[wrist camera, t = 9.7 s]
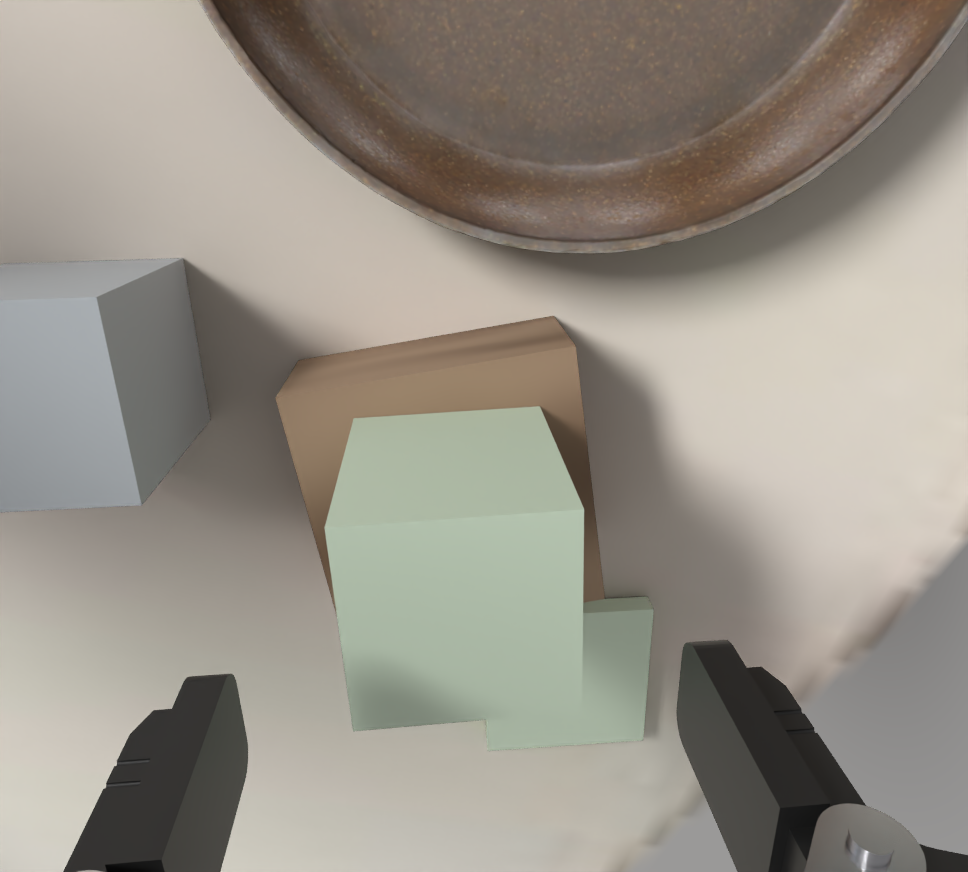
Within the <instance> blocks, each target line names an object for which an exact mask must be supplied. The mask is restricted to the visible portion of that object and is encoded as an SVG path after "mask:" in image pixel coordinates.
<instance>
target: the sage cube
mask: <svg viewBox="0 0 968 872" xmlns="http://www.w3.org/2000/svg"><path fill="white" fill-rule="evenodd" d="M325 535H326V542H327V549H328V556H329V564H330V571H331V578H332V585H333V592H334V599H335V606H336V613H337V620H338V627H339V635H340V642H341V649H342V656H343V663H344V670H345V677H346V684H347V691H348V698H349V705H350V713H351V720H352V727H353V731H363V730H374V729H386V728H398V727H409V726H421V725H432V724H444V723H455V722H467V721H479V720H490V719H502V718H513V717H525V716H536V715H548V714H560V713H571V712H582V669H583V572H584V508H583V505H582V503H581V501H580V498H579V496H578V494H577V491H576V489H575V487H574V484H573V482H572V480H571V478H570V475H569V473H568V471H567V468H566V466H565V464H564V461H563V459H562V457H561V454H560V452H559V450H558V447H557V445H556V443H555V440H554V438H553V436H552V433H551V431H550V429H549V426H548V424H547V422H546V419H545V417H544V415H543V412H542V410H541V408H540V406H536V407H520V408H505V409H489V410H474V411H458V412H443V413H427V414H412V415H396V416H381V417H365V418H354V419H353V423H352V427H351V430H350V434H349V438H348V442H347V445H346V449H345V453H344V457H343V460H342V464H341V468H340V472H339V475H338V479H337V483H336V487H335V490H334V494H333V498H332V502H331V505H330V509H329V513H328V517H327V520H326V524H325Z"/></svg>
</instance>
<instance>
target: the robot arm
mask: <svg viewBox="0 0 968 872" xmlns="http://www.w3.org/2000/svg"><path fill="white" fill-rule="evenodd" d="M677 723H678V729H679V734H680V738H681V741H682V744H683V747H684V749H685V752H686V754H687V756H688V758H689V761H690V763H691V765H692V768H693V770H694V772H695V775H696V777H697V779H698V781H699V784H700V786H701V788H702V791H703V793H704V795H705V798H706V800H707V802H708V805H709V807H710V809H711V811H712V814H713V816H714V818H715V821H716V823H717V825H718V828H719V830H720V832H721V834H722V837H723V839H724V841H725V843H726V846H727V848H728V851H729V853H730V855H731V857H732V859H733V862H734V864H735V867H736V869H737V871H738V872H968V855H963V854H958V853H953V852H948V851H943V850H938V849H934V848H930V847H926V846H923V845H921V844H919V843H918V842H917V841H916V839H915V838H914V837H913V835H912V834H911V833H910V832H909V831H908V830H907V829H906V828H905V827H904V826H902V825H901V824H900V823H899V822H897V821H896V820H895V819H893V818H892V817H890V816H888V815H886V814H885V813H883V812H881V811H878V810H876V809H874V808H871V807H868V806H866V805H865V803H864V802H863V800H862V799H861V798H860V796H859V794H858V793H857V792H856V790H855V789H854V787H853V786H852V784H851V783H850V781H849V780H848V778H847V777H846V775H845V774H844V772H843V771H842V769H841V768H840V766H839V765H838V763H837V762H836V760H835V759H834V757H833V756H832V754H831V753H830V751H829V750H828V748H827V747H826V745H825V744H824V742H823V741H822V739H821V738H820V736H819V735H818V734H817V733H815V732H814V727H813V726H812V724H811V723H810V721H809V720H808V718H807V717H806V715H805V714H802V712H801V708H800V706H799V705H798V703H797V702H796V700H795V699H794V697H793V696H792V694H791V693H790V691H789V690H788V688H787V687H786V686H785V685H784V684H783V683H781V682H780V681H779V680H778V679H776V678H775V677H774V676H772V675H771V674H770V673H769V672H767V671H766V670H765V669H763V668H762V667H752V668H746V666H745V664H744V663H743V661H742V660H741V658H740V656H739V655H738V653H737V651H736V650H735V648H734V647H733V645H732V644H731V643H730V642H729V641H728V640H717V641H703V642H689V643H686V644H685V645H684V647H683V652H682V661H681V671H680V681H679V691H678V701H677ZM247 764H248V743H247V737H246V731H245V726H244V721H243V715H242V710H241V705H240V699H239V694H238V689H237V683H236V680H235V677H234V675H233V674H220V675H206V676H192V677H187V678H186V679H185V681H184V683H183V685H182V687H181V689H180V691H179V694H178V696H177V698H176V701H175V703H174V705H173V708H172V709H165V710H154V711H153V712H152V713H151V714H150V715H149V716H148V717H147V718H146V719H145V720H144V721H143V722H142V723H141V724H140V725H139V726H138V727H137V728H136V729H135V730H134V731H133V732H132V733H131V734H130V735H129V737H128V739H127V741H126V744H125V746H124V748H123V750H122V752H121V754H120V756H119V758H118V760H117V766H114V768H113V770H112V772H111V775H110V777H109V779H108V781H107V783H106V789H103V791H102V793H101V795H100V797H99V799H98V801H97V803H96V805H95V808H94V810H93V812H92V814H91V816H90V818H89V820H88V822H87V824H86V826H85V828H84V830H83V832H82V834H81V836H80V838H79V841H78V843H77V845H76V847H75V849H74V851H73V853H72V855H71V857H70V859H69V861H68V863H67V865H66V867H65V869H64V871H63V872H220V871H221V867H222V863H223V860H224V856H225V852H226V849H227V845H228V841H229V838H230V834H231V830H232V826H233V823H234V819H235V815H236V812H237V808H238V804H239V801H240V797H241V793H242V790H243V786H244V782H245V778H246V773H247Z"/></svg>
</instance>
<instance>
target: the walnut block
mask: <svg viewBox="0 0 968 872" xmlns="http://www.w3.org/2000/svg"><path fill="white" fill-rule="evenodd" d="M275 399H276V402H277V406H278V410H279V413H280V417H281V420H282V424H283V427H284V431H285V434H286V438H287V441H288V445H289V448H290V452H291V456H292V459H293V463H294V466H295V470H296V473H297V477H298V480H299V484H300V487H301V491H302V494H303V498H304V502H305V505H306V509H307V512H308V516H309V519H310V523H311V526H312V530H313V533H314V537H315V540H316V544H317V547H318V551H319V555H320V558H321V562H322V565H323V569H324V572H325V576H326V579H327V583H328V586H329V590H330V593H331V597H332V601H333V604H334V608H335V611H336V606H335V599H334V592H333V585H332V578H331V571H330V564H329V556H328V549H327V542H326V535H325V524H326V520H327V517H328V513H329V509H330V505H331V502H332V498H333V494H334V490H335V487H336V483H337V479H338V475H339V472H340V468H341V464H342V460H343V457H344V453H345V449H346V445H347V442H348V438H349V434H350V430H351V427H352V423H353V419H354V418H365V417H381V416H396V415H412V414H427V413H443V412H458V411H474V410H489V409H505V408H520V407H536V406H540V408H541V410H542V412H543V415H544V417H545V419H546V422H547V424H548V426H549V429H550V431H551V433H552V436H553V438H554V440H555V443H556V445H557V447H558V450H559V452H560V454H561V457H562V459H563V461H564V464H565V466H566V468H567V471H568V473H569V475H570V478H571V480H572V482H573V484H574V487H575V489H576V491H577V494H578V496H579V498H580V501H581V503H582V505H583V508H584V572H583V603H585V602H590V601H596V600H602V599H605V596H604V587H603V578H602V570H601V561H600V552H599V544H598V535H597V526H596V518H595V509H594V500H593V492H592V483H591V474H590V465H589V457H588V448H587V439H586V431H585V422H584V413H583V405H582V396H581V387H580V379H579V370H578V361H577V353H576V346H575V344H574V343H573V342H572V340H571V339H570V337H569V336H568V335H567V333H566V332H565V331H564V329H563V328H562V327H561V325H560V324H559V323H558V321H557V320H556V319H555V317H554V316H550V317H545V318H539V319H533V320H527V321H522V322H516V323H510V324H504V325H499V326H493V327H487V328H481V329H476V330H470V331H464V332H458V333H452V334H447V335H441V336H435V337H429V338H424V339H418V340H412V341H406V342H401V343H395V344H389V345H383V346H378V347H372V348H366V349H360V350H355V351H349V352H343V353H337V354H332V355H326V356H320V357H314V358H309V359H303V360H298V362H297V364H296V365H295V367H294V368H293V370H292V372H291V373H290V375H289V377H288V378H287V380H286V382H285V383H284V385H283V386H282V388H281V390H280V391H279V393H278V395H277V396H276V398H275ZM336 615H337V613H336Z"/></svg>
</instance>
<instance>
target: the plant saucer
mask: <svg viewBox="0 0 968 872" xmlns="http://www.w3.org/2000/svg"><path fill="white" fill-rule="evenodd" d="M198 1H199V3H200V5H201V6H202V8H203V10H204V11H205V13H206V15H207V16H208V18H209V20H210V21H211V23H212V25H213V26H214V28H215V30H216V31H217V33H218V34H219V36H220V37H221V39H222V40H223V41H224V43H225V44H226V46H227V47H228V48H229V50H230V51H231V53H232V54H233V56H234V57H235V58H236V60H237V61H238V63H239V64H240V65H241V66H242V68H243V69H244V70H245V72H246V73H247V74H248V75H249V77H250V78H251V79H252V81H253V82H254V83H255V84H256V86H257V87H258V88H259V89H260V90H261V92H262V93H263V94H264V95H265V96H266V97H267V98H268V100H269V101H270V102H271V103H272V104H273V105H274V106H275V107H276V109H277V110H278V111H279V112H280V113H281V114H282V115H283V116H284V117H285V118H286V119H287V120H288V121H289V122H290V123H291V124H292V125H293V126H294V127H295V128H296V129H297V130H298V131H299V132H300V133H301V134H302V135H303V136H304V137H305V138H306V139H307V140H308V141H309V142H310V143H312V144H313V145H314V146H315V147H316V148H317V149H318V150H320V151H321V152H322V153H323V154H324V155H325V156H327V157H328V158H329V159H330V160H332V161H333V162H334V163H336V164H337V165H338V166H340V167H341V168H342V169H344V170H345V171H346V172H348V173H349V174H350V175H352V176H353V177H354V178H356V179H357V180H359V181H360V182H361V183H363V184H364V185H366V186H367V187H369V188H370V189H372V190H373V191H374V192H376V193H378V194H380V195H381V196H383V197H385V198H387V199H388V200H390V201H392V202H394V203H395V204H397V205H399V206H401V207H403V208H405V209H407V210H409V211H411V212H413V213H415V214H416V215H418V216H421V217H423V218H425V219H427V220H429V221H431V222H434V223H436V224H438V225H440V226H442V227H445V228H448V229H451V230H454V231H457V232H460V233H463V234H466V235H469V236H472V237H476V238H479V239H482V240H485V241H489V242H493V243H497V244H501V245H506V246H510V247H516V248H522V249H529V250H536V251H545V252H554V253H596V254H597V253H611V252H622V251H630V250H638V249H644V248H651V247H656V246H660V245H663V244H668V243H672V242H676V241H681V240H685V239H688V238H692V237H695V236H699V235H702V234H705V233H708V232H711V231H714V230H717V229H720V228H722V227H725V226H727V225H729V224H732V223H734V222H736V221H738V220H741V219H743V218H745V217H747V216H750V215H752V214H754V213H756V212H758V211H760V210H762V209H764V208H766V207H768V206H770V205H772V204H774V203H776V202H777V201H779V200H781V199H783V198H784V197H786V196H788V195H790V194H791V193H793V192H795V191H796V190H798V189H799V188H801V187H802V186H803V185H805V184H806V183H808V182H809V181H811V180H813V179H814V178H816V177H818V176H819V175H821V174H822V173H823V172H825V171H826V170H827V169H828V168H830V167H831V166H832V165H834V164H835V163H836V162H838V161H839V160H840V159H841V158H843V157H844V156H845V155H847V154H848V153H849V152H850V151H852V150H853V149H854V148H856V147H857V146H858V145H859V144H860V143H861V142H862V141H863V140H864V139H866V138H867V137H868V136H869V135H870V134H871V133H872V132H873V131H874V130H876V129H877V128H878V127H879V126H880V125H881V124H882V123H883V122H884V121H885V120H886V119H887V118H888V117H889V116H890V115H891V114H892V113H893V112H894V111H895V110H896V109H897V108H898V107H899V106H900V104H901V103H902V102H903V101H904V100H905V99H906V98H907V97H908V96H909V95H910V94H911V93H912V92H913V91H914V90H915V89H916V88H917V86H918V85H919V84H920V83H921V82H922V81H923V79H924V78H925V77H926V76H927V75H928V73H929V72H930V71H931V70H932V69H933V68H934V66H935V65H936V64H937V63H938V61H939V60H940V59H941V57H942V56H943V55H944V53H945V52H946V51H947V49H948V48H949V47H950V45H951V44H952V42H953V41H954V39H955V38H956V36H957V35H958V34H959V32H960V31H961V29H962V28H963V26H964V25H965V23H966V22H967V20H968V0H198Z"/></svg>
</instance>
